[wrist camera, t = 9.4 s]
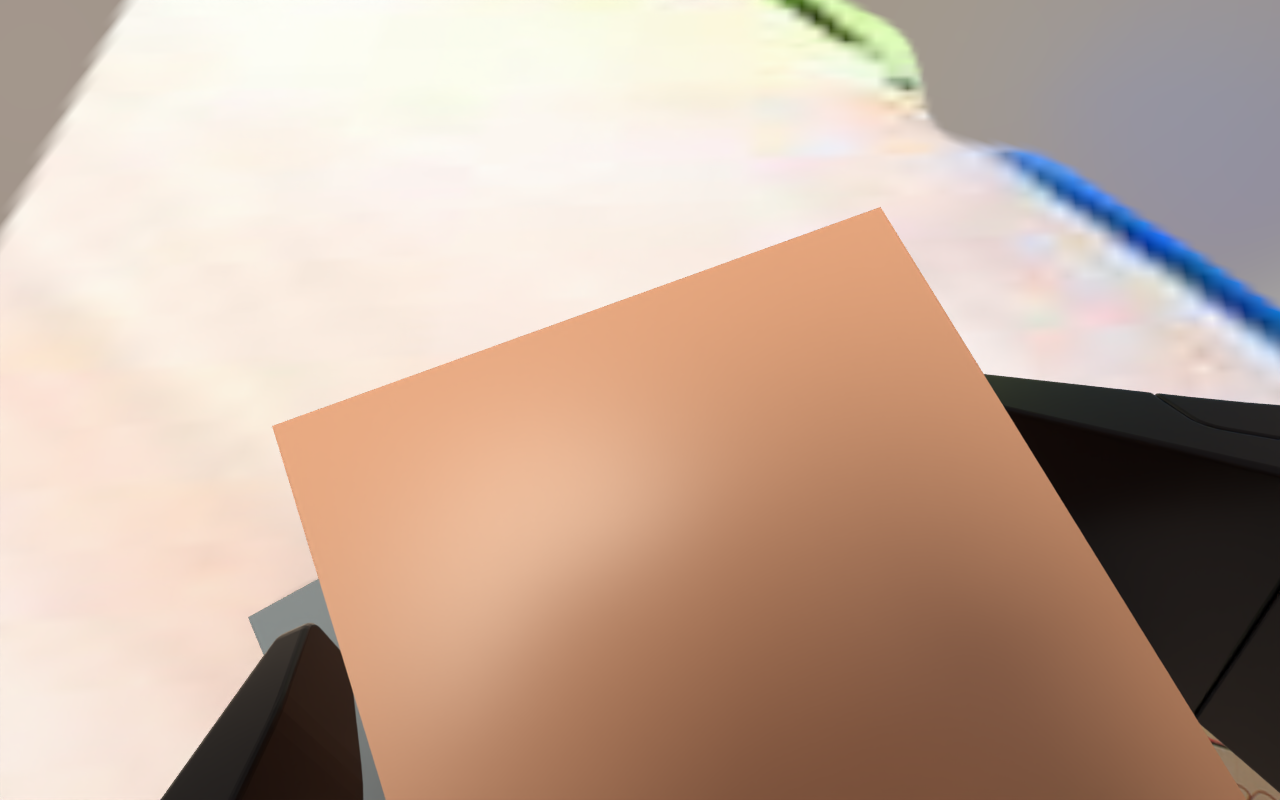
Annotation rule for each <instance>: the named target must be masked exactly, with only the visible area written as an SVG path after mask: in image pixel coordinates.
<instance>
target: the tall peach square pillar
mask: <svg viewBox="0 0 1280 800" xmlns="http://www.w3.org/2000/svg"><path fill="white" fill-rule="evenodd" d="M272 427H273V430H274V433H275V437H276V440H277V443H278V446H279V450H280V453H281V456H282V460H283V463H284V466H285V469H286V473H287V476H288V479H289V483H290V486H291V489H292V493H293V496H294V499H295V502H296V506H297V509H298V512H299V516H300V519H301V522H302V525H303V529H304V532H305V535H306V539H307V542H308V545H309V549H310V552H311V555H312V558H313V562H314V565H315V568H316V572H317V575H318V578H319V581H320V585H321V588H322V591H323V595H324V598H325V601H326V605H327V608H328V611H329V614H330V618H331V621H332V624H333V628H334V631H335V634H336V638H337V641H338V644H339V647H340V651H341V654H342V657H343V661H344V664H345V667H346V670H347V674H348V677H349V680H350V684H351V687H352V690H353V694H354V697H355V700H356V703H357V707H358V710H359V713H360V717H361V720H362V723H363V726H364V730H365V733H366V736H367V740H368V743H369V746H370V750H371V753H372V756H373V759H374V763H375V766H376V769H377V773H378V776H379V779H380V782H381V786H382V789H383V792H384V796H385V799H386V800H1246V798H1245V797H1244V795H1243V793H1242V792H1241V790H1240V788H1239V787H1238V785H1237V784H1236V782H1235V780H1234V779H1233V777H1232V775H1231V774H1230V772H1229V771H1228V769H1227V767H1226V766H1225V764H1224V763H1223V761H1222V759H1221V758H1220V756H1219V754H1218V753H1217V751H1216V750H1215V748H1214V746H1213V745H1212V743H1211V741H1210V740H1209V738H1208V737H1207V735H1206V733H1205V732H1204V730H1203V729H1202V727H1201V725H1200V724H1199V722H1198V720H1197V719H1196V717H1195V716H1194V714H1193V712H1192V711H1191V709H1190V707H1189V706H1188V704H1187V703H1186V701H1185V699H1184V698H1183V696H1182V695H1181V693H1180V691H1179V690H1178V688H1177V686H1176V685H1175V683H1174V682H1173V680H1172V678H1171V677H1170V675H1169V673H1168V672H1167V670H1166V669H1165V667H1164V665H1163V664H1162V662H1161V661H1160V659H1159V657H1158V656H1157V654H1156V652H1155V651H1154V649H1153V648H1152V646H1151V644H1150V643H1149V641H1148V640H1147V638H1146V636H1145V635H1144V633H1143V631H1142V630H1141V628H1140V627H1139V625H1138V623H1137V622H1136V620H1135V618H1134V617H1133V615H1132V614H1131V612H1130V610H1129V609H1128V607H1127V606H1126V604H1125V602H1124V601H1123V599H1122V597H1121V596H1120V594H1119V593H1118V591H1117V589H1116V588H1115V586H1114V584H1113V583H1112V581H1111V580H1110V578H1109V576H1108V575H1107V573H1106V572H1105V570H1104V568H1103V567H1102V565H1101V563H1100V562H1099V560H1098V559H1097V557H1096V555H1095V554H1094V552H1093V550H1092V549H1091V547H1090V546H1089V544H1088V542H1087V541H1086V539H1085V538H1084V536H1083V534H1082V533H1081V531H1080V529H1079V528H1078V526H1077V525H1076V523H1075V521H1074V520H1073V518H1072V516H1071V515H1070V513H1069V512H1068V510H1067V508H1066V507H1065V505H1064V504H1063V502H1062V500H1061V499H1060V497H1059V495H1058V494H1057V492H1056V491H1055V489H1054V487H1053V486H1052V484H1051V482H1050V481H1049V479H1048V478H1047V476H1046V474H1045V473H1044V471H1043V470H1042V468H1041V466H1040V465H1039V463H1038V461H1037V460H1036V458H1035V457H1034V455H1033V453H1032V452H1031V450H1030V448H1029V447H1028V445H1027V444H1026V442H1025V440H1024V439H1023V437H1022V436H1021V434H1020V432H1019V431H1018V429H1017V427H1016V426H1015V424H1014V423H1013V421H1012V419H1011V418H1010V416H1009V414H1008V413H1007V411H1006V410H1005V408H1004V406H1003V405H1002V403H1001V402H1000V400H999V398H998V397H997V395H996V393H995V392H994V390H993V389H992V387H991V385H990V384H989V382H988V380H987V379H986V377H985V376H984V374H983V372H982V371H981V369H980V368H979V366H978V364H977V363H976V361H975V359H974V358H973V356H972V355H971V353H970V351H969V350H968V348H967V346H966V345H965V343H964V342H963V340H962V338H961V337H960V335H959V334H958V332H957V330H956V329H955V327H954V325H953V324H952V322H951V321H950V319H949V317H948V316H947V314H946V312H945V311H944V309H943V308H942V306H941V304H940V303H939V301H938V300H937V298H936V296H935V295H934V293H933V291H932V290H931V288H930V287H929V285H928V283H927V282H926V280H925V278H924V277H923V275H922V274H921V272H920V270H919V269H918V267H917V266H916V264H915V262H914V261H913V259H912V257H911V256H910V254H909V253H908V251H907V249H906V248H905V246H904V244H903V243H902V241H901V240H900V238H899V236H898V235H897V233H896V232H895V230H894V228H893V227H892V225H891V223H890V222H889V220H888V219H887V217H886V215H885V214H884V212H883V210H882V209H881V207H879V208H877V209H874V210H871V211H868V212H866V213H863V214H860V215H857V216H854V217H852V218H849V219H846V220H843V221H841V222H838V223H835V224H832V225H829V226H827V227H824V228H821V229H818V230H816V231H813V232H810V233H807V234H804V235H802V236H799V237H796V238H793V239H791V240H788V241H785V242H782V243H779V244H777V245H774V246H771V247H768V248H766V249H763V250H760V251H757V252H754V253H752V254H749V255H746V256H743V257H741V258H738V259H735V260H732V261H729V262H727V263H724V264H721V265H718V266H716V267H713V268H710V269H707V270H704V271H702V272H699V273H696V274H693V275H691V276H688V277H685V278H682V279H679V280H677V281H674V282H671V283H668V284H666V285H663V286H660V287H657V288H654V289H652V290H649V291H646V292H643V293H641V294H638V295H635V296H632V297H629V298H627V299H624V300H621V301H618V302H616V303H613V304H610V305H607V306H604V307H602V308H599V309H596V310H593V311H591V312H588V313H585V314H582V315H579V316H577V317H574V318H571V319H568V320H566V321H563V322H560V323H557V324H554V325H552V326H549V327H546V328H543V329H541V330H538V331H535V332H532V333H529V334H527V335H524V336H521V337H518V338H516V339H513V340H510V341H507V342H504V343H502V344H499V345H496V346H493V347H491V348H488V349H485V350H482V351H479V352H477V353H474V354H471V355H468V356H466V357H463V358H460V359H457V360H454V361H452V362H449V363H446V364H443V365H441V366H438V367H435V368H432V369H430V370H427V371H424V372H421V373H418V374H416V375H413V376H410V377H407V378H405V379H402V380H399V381H396V382H393V383H391V384H388V385H385V386H382V387H380V388H377V389H374V390H371V391H368V392H366V393H363V394H360V395H357V396H355V397H352V398H349V399H346V400H343V401H341V402H338V403H335V404H332V405H330V406H327V407H324V408H321V409H318V410H316V411H313V412H310V413H307V414H305V415H302V416H299V417H296V418H293V419H291V420H288V421H285V422H282V423H280V424H277V425H274V426H272Z"/></svg>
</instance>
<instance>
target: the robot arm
mask: <svg viewBox="0 0 1280 800" xmlns="http://www.w3.org/2000/svg"><path fill="white" fill-rule="evenodd" d="M984 376H985V377H986V379H987V380H988V382H989V384H990V385H991V387H992V389H993V390H994V392H995V393H996V395H997V397H998V398H999V400H1000V402H1001V403H1002V405H1003V406H1004V408H1005V410H1006V411H1007V413H1008V414H1009V416H1010V418H1011V419H1012V421H1013V423H1014V424H1015V426H1016V427H1017V429H1018V431H1019V432H1020V434H1021V436H1022V437H1023V439H1024V440H1025V442H1026V444H1027V445H1028V447H1029V448H1030V450H1031V452H1032V453H1033V455H1034V457H1035V458H1036V460H1037V461H1038V463H1039V465H1040V466H1041V468H1042V470H1043V471H1044V473H1045V474H1046V476H1047V478H1048V479H1049V481H1050V482H1051V484H1052V486H1053V487H1054V489H1055V491H1056V492H1057V494H1058V495H1059V497H1060V499H1061V500H1062V502H1063V504H1064V505H1065V507H1066V508H1067V510H1068V512H1069V513H1070V515H1071V516H1072V518H1073V520H1074V521H1075V523H1076V525H1077V526H1078V528H1079V529H1080V531H1081V533H1082V534H1083V536H1084V538H1085V539H1086V541H1087V542H1088V544H1089V546H1090V547H1091V549H1092V550H1093V552H1094V554H1095V555H1096V557H1097V559H1098V560H1099V562H1100V563H1101V565H1102V567H1103V568H1104V570H1105V572H1106V573H1107V575H1108V576H1109V578H1110V580H1111V581H1112V583H1113V584H1114V586H1115V588H1116V589H1117V591H1118V593H1119V594H1120V596H1121V597H1122V599H1123V601H1124V602H1125V604H1126V606H1127V607H1128V609H1129V610H1130V612H1131V614H1132V615H1133V617H1134V618H1135V620H1136V622H1137V623H1138V625H1139V627H1140V628H1141V630H1142V631H1143V633H1144V635H1145V636H1146V638H1147V640H1148V641H1149V643H1150V644H1151V646H1152V648H1153V649H1154V651H1155V652H1156V654H1157V656H1158V657H1159V659H1160V661H1161V662H1162V664H1163V665H1164V667H1165V669H1166V670H1167V672H1168V673H1169V675H1170V677H1171V678H1172V680H1173V682H1174V683H1175V685H1176V686H1177V688H1178V690H1179V691H1180V693H1181V695H1182V696H1183V698H1184V699H1185V701H1186V703H1187V704H1188V706H1189V707H1190V709H1191V711H1192V712H1193V714H1194V716H1195V717H1196V719H1197V720H1198V722H1199V724H1200V725H1201V726H1203V727H1204V728H1205V729H1206V730H1207V731H1208V732H1209V733H1211V734H1212V735H1213V736H1214V737H1215V738H1216V739H1218V740H1219V741H1220V742H1221V743H1222V744H1223V745H1224V746H1226V747H1227V748H1228V749H1229V750H1230V751H1231V752H1233V753H1234V754H1235V755H1236V756H1237V757H1238V758H1240V759H1241V760H1242V761H1243V762H1244V763H1245V764H1246V765H1248V766H1249V767H1250V768H1251V769H1252V770H1253V771H1255V772H1256V773H1257V774H1258V775H1259V776H1260V777H1261V778H1263V779H1264V780H1265V781H1266V782H1267V783H1268V784H1270V785H1271V786H1272V787H1273V788H1274V789H1275V790H1277V791H1278V792H1279V793H1280V405H1271V404H1258V403H1246V402H1236V401H1226V400H1216V399H1206V398H1196V397H1186V396H1177V395H1168V394H1155V395H1154V394H1152V393H1149V392H1140V391H1131V390H1122V389H1113V388H1104V387H1095V386H1086V385H1077V384H1068V383H1059V382H1050V381H1041V380H1032V379H1023V378H1014V377H1005V376H996V375H987V374H984ZM161 800H363V776H362V764H361V755H360V746H359V738H358V729H357V720H356V711H355V702H354V694H353V690H352V687H351V684H350V680H349V677H348V674H347V670H346V667H345V664H344V661H343V657H342V654H341V651H340V649H339V648H338V647H337V646H336V645H335V644H334V642H333V641H332V640H331V639H330V638H329V637H328V636H327V635H326V633H325V632H324V631H323V630H322V629H321V628H320V627H319V626H318V625H316V624H314V623H306V624H304V625H301V626H299V627H297V628H295V629H292V630H290V631H288V632H286V633H284V634H282V635H280V636H279V637H278V638H276V640H275V641H274V642H273V643H272V645H271V646H270V648H269V649H268V650H267V652H266V653H265V655H264V656H263V657H262V659H261V660H260V662H259V663H258V664H257V666H256V667H255V669H254V670H253V671H252V673H251V674H250V676H249V677H248V678H247V680H246V681H245V682H244V684H243V685H242V687H241V688H240V689H239V691H238V692H237V694H236V695H235V696H234V698H233V699H232V701H231V702H230V703H229V705H228V706H227V708H226V709H225V710H224V712H223V713H222V715H221V716H220V717H219V719H218V720H217V722H216V723H215V724H214V726H213V727H212V729H211V730H210V731H209V733H208V734H207V736H206V737H205V738H204V740H203V741H202V743H201V744H200V745H199V747H198V748H197V750H196V751H195V752H194V754H193V755H192V757H191V758H190V759H189V761H188V762H187V763H186V765H185V766H184V768H183V769H182V770H181V772H180V773H179V775H178V776H177V777H176V779H175V780H174V782H173V783H172V784H171V786H170V787H169V789H168V790H167V791H166V793H165V794H164V796H163V797H162V798H161Z"/></svg>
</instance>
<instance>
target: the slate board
mask: <svg viewBox="0 0 1280 800" xmlns="http://www.w3.org/2000/svg"><path fill="white" fill-rule="evenodd" d="M248 618H249V620H250V623H251V625H252V628H253V630H254V633H255V635H256V637H257V640H258V642H259V645H260V647H261V649H262V652H263V654H264V655H265V653H266V652H267V650H268V649H269V648H270V646H271V645H272V643H273V642H274V641H275V640H276V638H278V637H279V636H280V635H282V634H284V633H286V632H288V631H290V630H292V629H295V628H297V627H299V626H301V625H304V624H306V623H314V624H316V625H318V626H319V627H320V628H321V629H322V630H323V631H324V632H325V633H326V635H327V636H328V637H329V638H330V639H331V640H332V641H333V642H334V644H335V645H336V646H337V647H338V648H339V649H340V647H339V644H338V641H337V638H336V634H335V631H334V628H333V624H332V621H331V618H330V614H329V611H328V608H327V605H326V601H325V598H324V595H323V591H322V588H321V585H320V581H319V579H317V580H316V581H314V582H312V583H310V584H308V585H306V586H305V587H303V588H301V589H299V590H297V591H295V592H294V593H292V594H290V595H288V596H286V597H285V598H283V599H281V600H279V601H277V602H275V603H274V604H272V605H270V606H268V607H266V608H264V609H263V610H261V611H259V612H257V613H255V614H253V615H252V616H250V617H248ZM354 702H355V711H356V720H357V729H358V738H359V746H360V755H361V764H362V776H363V800H386V799H385V796H384V792H383V789H382V786H381V782H380V779H379V776H378V773H377V769H376V766H375V763H374V759H373V756H372V753H371V750H370V746H369V743H368V740H367V736H366V733H365V730H364V726H363V723H362V720H361V717H360V713H359V710H358V707H357V703H356V700H355V697H354Z"/></svg>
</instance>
